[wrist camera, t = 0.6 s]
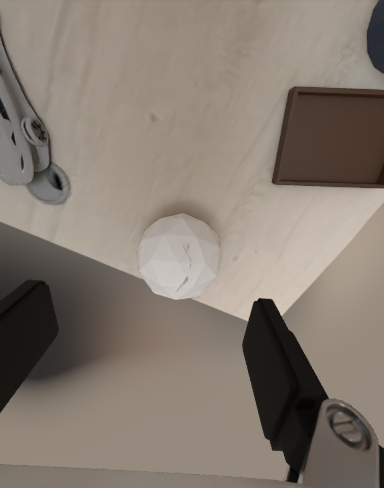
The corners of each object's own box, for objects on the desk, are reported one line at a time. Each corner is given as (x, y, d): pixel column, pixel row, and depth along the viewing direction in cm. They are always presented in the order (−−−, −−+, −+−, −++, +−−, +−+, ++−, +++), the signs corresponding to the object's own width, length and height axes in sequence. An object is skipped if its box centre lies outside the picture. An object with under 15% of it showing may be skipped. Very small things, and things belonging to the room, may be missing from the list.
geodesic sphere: (135, 184, 30) (112, 278, 23) (232, 192, 30) (237, 287, 24) (148, 236, 43) (136, 306, 36) (216, 241, 44) (216, 311, 37)
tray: (288, 90, 30) (295, 86, 28) (411, 95, 30) (425, 91, 29) (271, 182, 36) (276, 184, 34) (375, 186, 36) (385, 188, 34)
